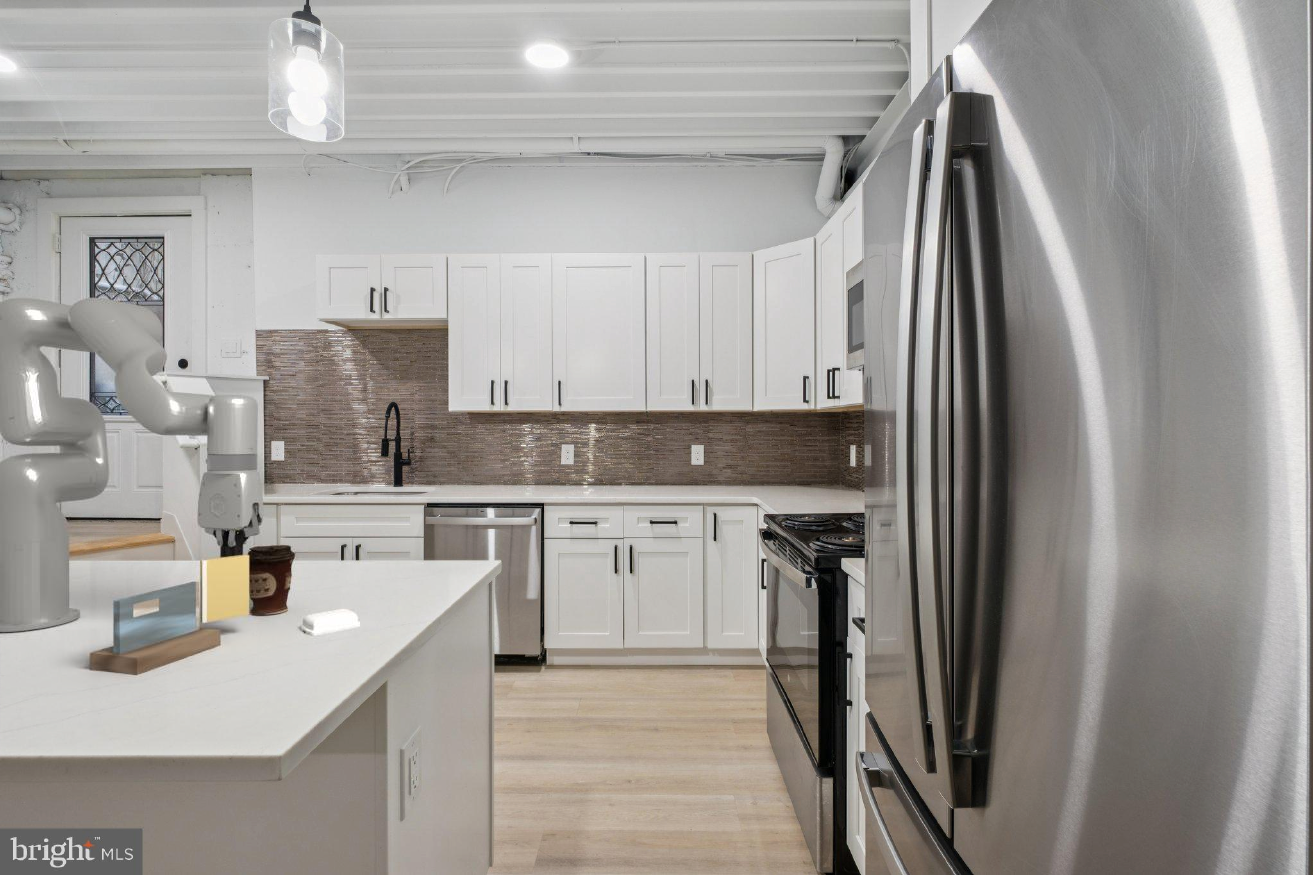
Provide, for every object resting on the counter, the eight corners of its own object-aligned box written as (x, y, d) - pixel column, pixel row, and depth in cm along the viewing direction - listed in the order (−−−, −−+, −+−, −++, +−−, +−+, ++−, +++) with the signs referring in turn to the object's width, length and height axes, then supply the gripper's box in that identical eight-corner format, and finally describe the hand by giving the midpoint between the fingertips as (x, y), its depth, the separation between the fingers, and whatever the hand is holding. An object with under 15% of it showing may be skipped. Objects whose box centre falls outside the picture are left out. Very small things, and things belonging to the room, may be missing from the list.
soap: (310, 638, 115) (311, 622, 115) (297, 630, 120) (297, 614, 120) (363, 627, 122) (363, 612, 122) (348, 620, 126) (348, 605, 126)
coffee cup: (270, 619, 126) (270, 551, 126) (233, 616, 127) (233, 549, 127) (303, 607, 134) (303, 544, 134) (268, 605, 136) (268, 542, 136)
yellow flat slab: (200, 621, 112) (200, 559, 112) (247, 613, 117) (246, 554, 117) (202, 622, 111) (202, 560, 111) (249, 614, 116) (249, 555, 116)
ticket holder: (89, 669, 99) (89, 599, 99) (177, 640, 113) (177, 579, 112) (136, 674, 97) (136, 603, 97) (220, 645, 110) (220, 582, 110)
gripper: (179, 464, 115) (178, 569, 115) (249, 466, 112) (248, 574, 112) (216, 462, 122) (216, 561, 123) (284, 464, 119) (283, 566, 119)
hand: (231, 567), depth 117 cm, fingers closed
